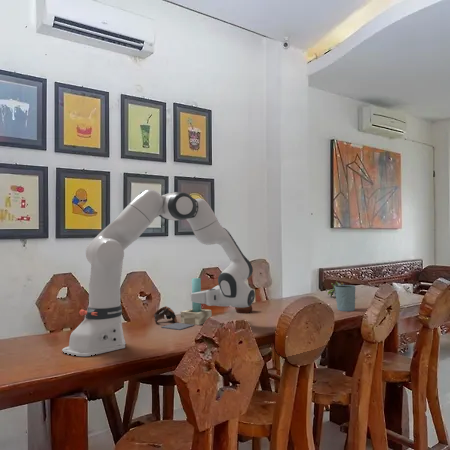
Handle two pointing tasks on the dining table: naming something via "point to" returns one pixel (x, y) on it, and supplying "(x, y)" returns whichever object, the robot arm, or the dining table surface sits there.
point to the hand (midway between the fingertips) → (194, 293)
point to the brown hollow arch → (167, 312)
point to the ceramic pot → (244, 309)
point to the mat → (177, 326)
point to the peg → (195, 288)
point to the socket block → (195, 316)
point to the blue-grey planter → (345, 297)
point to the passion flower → (334, 288)
